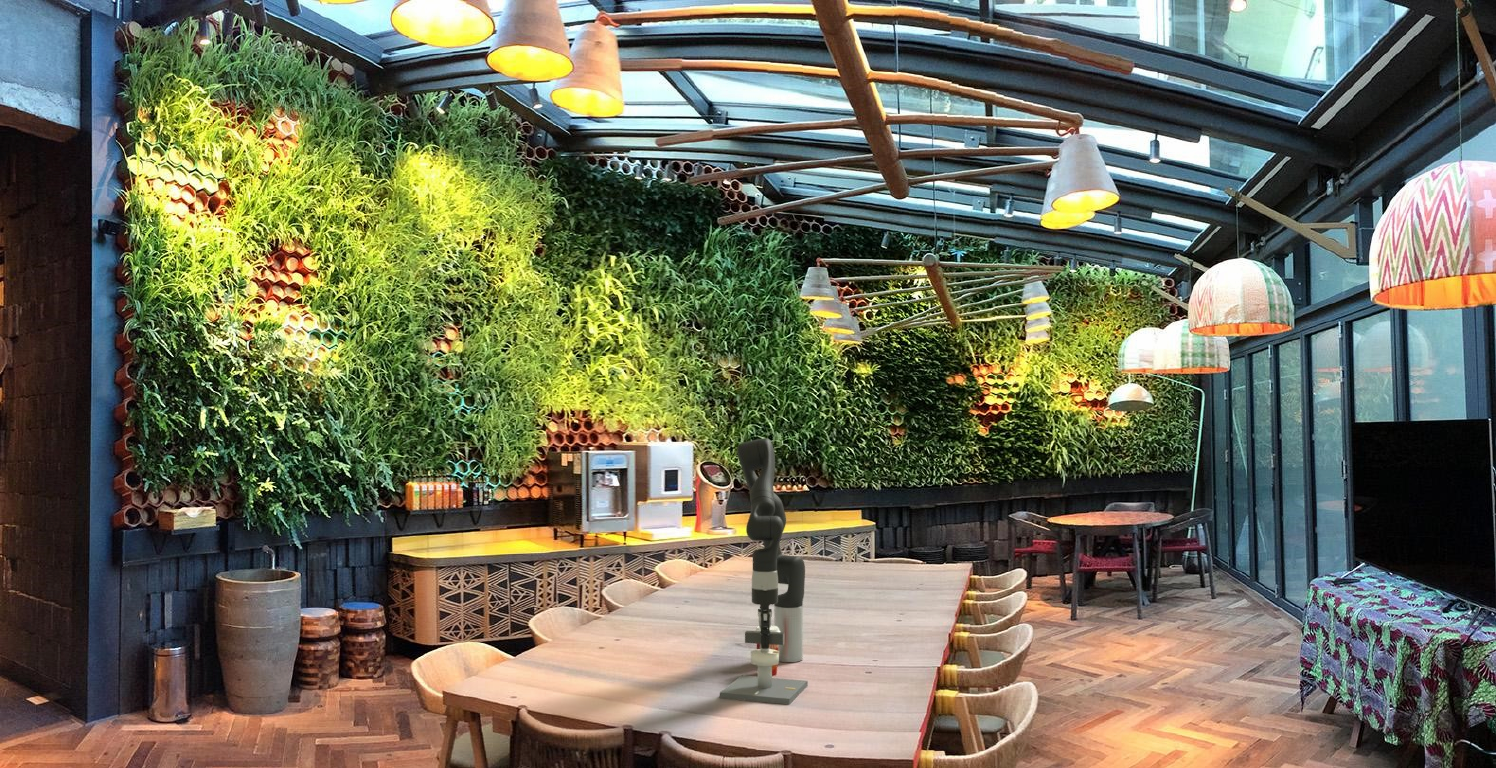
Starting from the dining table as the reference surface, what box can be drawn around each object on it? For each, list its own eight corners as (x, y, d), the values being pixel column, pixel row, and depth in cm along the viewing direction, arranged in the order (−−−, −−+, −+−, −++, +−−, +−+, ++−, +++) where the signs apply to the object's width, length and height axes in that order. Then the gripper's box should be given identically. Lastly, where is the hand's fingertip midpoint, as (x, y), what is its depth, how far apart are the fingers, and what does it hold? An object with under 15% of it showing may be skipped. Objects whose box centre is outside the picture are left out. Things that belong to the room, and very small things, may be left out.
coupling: (742, 664, 278) (742, 634, 278) (749, 658, 286) (749, 628, 286) (781, 667, 276) (781, 636, 276) (786, 660, 283) (786, 630, 284)
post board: (742, 680, 293) (742, 653, 293) (807, 686, 287) (807, 658, 287) (719, 698, 274) (719, 668, 274) (789, 704, 268) (789, 674, 268)
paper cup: (758, 677, 296) (759, 630, 297) (752, 671, 304) (752, 625, 304) (783, 676, 298) (783, 629, 299) (776, 669, 306) (776, 624, 306)
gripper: (751, 582, 289) (751, 640, 288) (751, 590, 274) (751, 651, 274) (777, 582, 289) (777, 640, 288) (778, 590, 274) (778, 651, 274)
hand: (764, 645), depth 281 cm, fingers open, 6 cm apart
